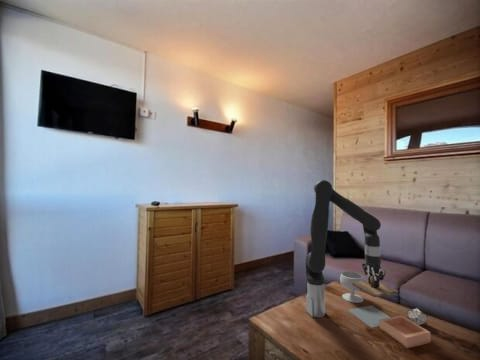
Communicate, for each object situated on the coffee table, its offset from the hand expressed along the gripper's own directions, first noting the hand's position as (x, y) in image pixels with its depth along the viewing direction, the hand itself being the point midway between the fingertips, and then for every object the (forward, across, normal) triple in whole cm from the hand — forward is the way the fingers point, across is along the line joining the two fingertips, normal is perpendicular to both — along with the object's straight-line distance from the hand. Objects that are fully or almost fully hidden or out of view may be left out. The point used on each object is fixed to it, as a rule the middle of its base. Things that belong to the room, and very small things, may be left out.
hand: (373, 285), depth 122 cm
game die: (+18, +11, +16) cm, 26 cm away
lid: (+2, 0, 0) cm, 2 cm away
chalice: (+18, -21, +4) cm, 27 cm away
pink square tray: (+17, +15, +1) cm, 23 cm away
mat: (+17, -2, 0) cm, 17 cm away
